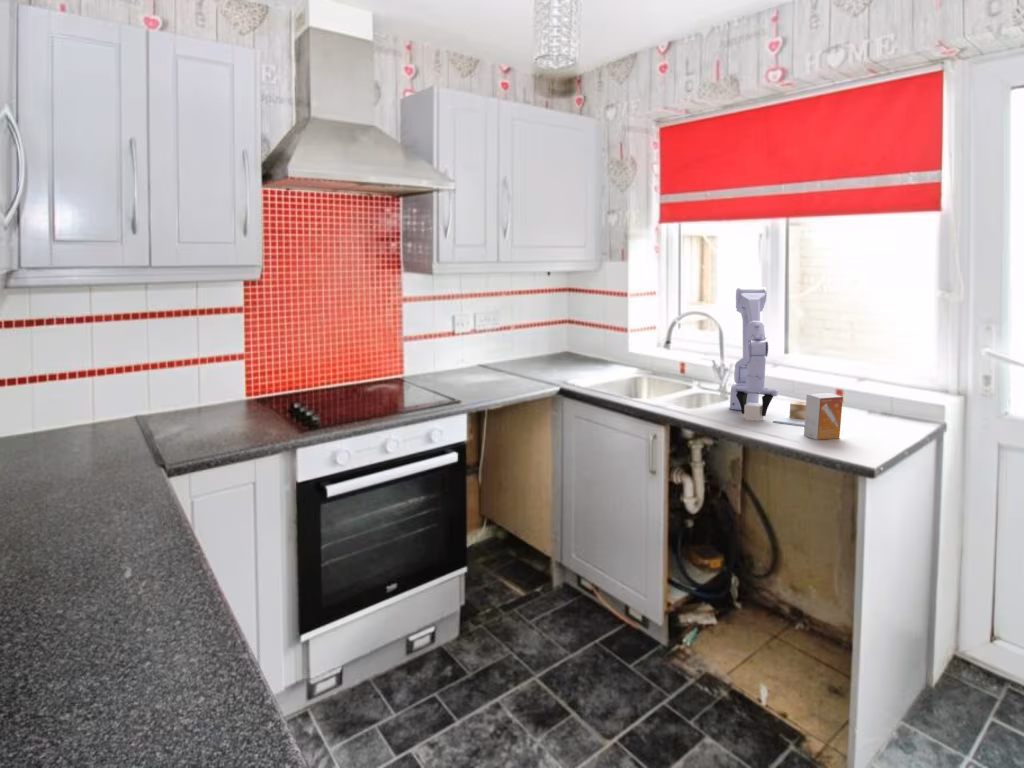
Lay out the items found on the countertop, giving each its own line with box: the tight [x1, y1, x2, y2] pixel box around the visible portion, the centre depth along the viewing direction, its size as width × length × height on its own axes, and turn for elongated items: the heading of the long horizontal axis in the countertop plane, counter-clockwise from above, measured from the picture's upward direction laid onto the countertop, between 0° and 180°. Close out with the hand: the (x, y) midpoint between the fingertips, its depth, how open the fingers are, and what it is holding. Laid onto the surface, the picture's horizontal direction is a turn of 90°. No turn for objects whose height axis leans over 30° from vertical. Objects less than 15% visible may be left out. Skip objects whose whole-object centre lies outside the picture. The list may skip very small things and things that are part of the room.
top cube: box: [743, 402, 764, 422], centre depth 224 cm, size 5×5×5 cm
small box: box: [803, 392, 844, 441], centre depth 199 cm, size 8×6×13 cm
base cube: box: [789, 400, 806, 420], centre depth 221 cm, size 5×5×5 cm
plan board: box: [773, 411, 805, 427], centre depth 221 cm, size 12×15×1 cm
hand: (753, 414), depth 224 cm, fingers open, 6 cm apart
